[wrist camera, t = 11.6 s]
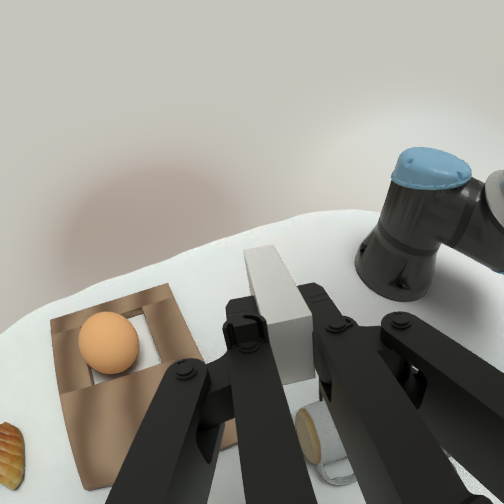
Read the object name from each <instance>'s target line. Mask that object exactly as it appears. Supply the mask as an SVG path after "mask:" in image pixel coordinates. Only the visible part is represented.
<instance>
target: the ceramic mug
mask: <svg viewBox="0 0 504 504" xmlns="http://www.w3.org/2000/svg"><path fill="white" fill-rule="evenodd" d="M295 423H296V431H297V435H298V439H299V443H300V446H301V449H302V451H303V453H304V455H305V457H306V458H307V460H308V461H309V462H311V463H313V464H317V466H318V471H319V472H320V474H321V476H322V477H323V478H324V479H325V480H326V481H327V482H328V483H330V484H333V485H337V486H343V485H348V484H351V483H353V482H355V481H357V479H356V476H355V474H353V475H350V476H347V477H343V478H335V479H330V478H329V477H328V476H327V475H326V472H325V470H324V466H323V465H324V463H329V462H333V461H336V460H339V459H342V458H345V457H347V454H346V452H345V449H344V447H343V444H342V442H341V439H340V437H339V434H338V432H337V429H336V427H335V424H334V422H333V420H332V417H331V415H330V412H329V410H328V407H327V405H326V402H325V400H323V401H321V402H320V401H318V402H314V403H311V404H309V405H307V406H305V407H303V408H301V409H300V410H299V411H298V412H297V414H296V418H295Z"/></svg>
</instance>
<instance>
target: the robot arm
mask: <svg viewBox="0 0 504 504" xmlns="http://www.w3.org/2000/svg"><path fill="white" fill-rule="evenodd" d="M471 176H472V173H471V168H470V166H469V165H468V164H467V163H466V162H465V161H463V160H461V159H458V158H457V157H456V156H454V155H452V154H450V153H447V152H444V151H441V150H436V149H432V148H426V147H415V148H414V147H413V148H409V149H406V150H405V151H403V152H402V153H401V154H400V156H399V158H398V161H397V164H396V167H395V170H394V171H393V173H392V175H391V178H392V180H391V184H390V187H389V190H388V194H387V197H386V200H385V203H384V206H383V209H382V212H381V215H380V218H379V221H378V223H377V225H376V226H375V228H374V229H373V230H372V231H371V232H370V234H369V235H368V236H367V237H366V238H365V240H364V241H363V242H362V243H361V245H360V247H359V249H358V252H357V255H356V258H355V266H356V269H357V272H358V274H359V276H360V277H361V279H362V280H363V281H364V282H365V283H366V284H367V285H368V286H369V287H370V288H371V289H372V290H374V291H375V292H377V293H378V294H380V295H382V296H384V297H387V298H389V299H393V300H397V301H412V300H416V299H418V298H420V297H422V296H423V295H424V294H425V293H426V291H427V289H428V288H429V286H430V284H431V282H432V279H433V274H434V268H435V261H436V253H437V251H438V249H439V247H440V245H441V243H442V244H445V245H447V246H449V247H451V248H453V249H455V250H457V251H459V252H461V253H463V254H464V255H466V256H468V257H470V258H472V259H474V260H475V261H477V262H479V263H481V264H483V265H484V266H486V267H488V268H490V269H491V270H492V271H494V272H496V273H499V274H503V275H504V170H499V171H495V172H493V173H492V174H491V175H490V176H489V177H488V179H487V181H486V182H485V183H483V182H481V181H479V180H477V179H475V178H473V177H471ZM243 252H244V258H245V263H246V269H247V275H248V281H249V287H250V292H251V296H248V297H243V298H237V299H232V300H230V301H229V302H228V304H227V306H226V318H227V321H226V322H225V323H224V324H223V328H222V330H223V334H224V338H225V342H226V346H227V352H226V353H225V354H224V355H223V356H222V357H220V358H219V359H217V360H215V361H213V362H211V363H208V364H205V363H204V362H203V361H201V360H200V359H196V358H186V359H182V360H179V361H176V362H175V363H173V364H172V365H170V366H169V367H168V369H167V370H166V371H165V374H164V376H163V378H162V380H161V382H160V384H159V386H158V388H157V390H156V392H155V395H154V397H153V399H152V401H151V403H150V405H149V407H148V409H147V412H146V414H145V416H144V418H143V420H142V422H141V424H140V427H139V429H138V431H137V433H136V435H135V438H134V440H133V442H132V444H131V446H130V448H129V451H128V453H127V455H126V457H125V459H124V462H123V464H122V466H121V468H120V471H119V473H118V475H117V477H116V480H115V482H114V484H113V486H112V489H111V491H110V493H109V495H108V498H107V500H106V502H105V504H207V501H208V497H209V493H210V489H211V484H212V480H213V476H214V472H215V467H216V463H217V459H218V455H219V450H220V446H221V442H222V438H223V433H224V429H225V422H226V421H229V420H231V419H233V418H235V423H236V432H237V440H238V448H239V456H240V464H241V471H242V479H243V486H244V493H245V500H246V504H317V500H316V497H315V494H314V490H313V487H312V484H311V480H310V477H309V474H308V470H307V467H306V464H305V460H304V457H303V454H302V450H301V447H300V444H299V440H298V437H297V434H296V430H295V427H294V423H293V420H292V417H291V413H290V410H289V406H288V403H287V400H286V396H285V393H284V389H283V386H282V385H286V384H290V383H295V382H299V381H304V380H308V379H312V378H315V369H316V371H317V373H318V376H319V400H320V402H321V401H323V398H324V400H325V402H326V405H327V407H328V410H329V412H330V415H331V417H332V420H333V422H334V424H335V427H336V429H337V432H338V434H339V437H340V439H341V442H342V444H343V447H344V449H345V452H346V454H347V457H348V459H349V461H350V464H351V466H352V469H353V471H354V474H355V476H356V479H357V481H358V484H359V486H360V489H361V491H362V494H363V496H364V499H365V501H366V504H493V503H492V502H491V500H490V499H489V498H487V497H485V496H484V495H475V494H472V493H470V492H469V491H468V490H467V488H466V487H465V485H464V483H463V482H462V480H461V478H460V477H459V475H458V473H457V472H456V470H455V469H454V467H453V465H452V464H451V462H450V461H449V459H448V457H447V456H446V454H445V453H444V451H443V449H444V450H445V451H446V452H447V453H448V454H450V455H451V456H452V457H453V458H454V459H455V460H456V461H457V462H458V463H459V464H460V465H462V466H463V467H464V468H465V469H466V470H467V471H468V472H469V473H470V474H471V475H473V476H474V477H475V478H476V479H477V480H478V481H479V482H480V483H481V484H482V485H484V486H485V487H486V488H487V489H488V490H489V491H490V492H491V493H492V494H493V495H495V496H496V497H497V498H498V499H499V500H500V501H501V502H502V503H503V504H504V373H502V372H501V371H499V370H498V369H496V368H495V367H493V366H492V365H490V364H489V363H487V362H486V361H484V360H483V359H481V358H480V357H478V356H477V355H475V354H474V353H472V352H471V351H469V350H468V349H466V348H465V347H463V346H462V345H460V344H459V343H457V342H455V341H454V340H452V339H451V338H449V337H448V336H446V335H445V334H443V333H441V332H440V331H438V330H437V329H435V328H434V327H432V326H430V325H429V324H427V323H426V322H424V321H423V320H421V319H419V318H418V317H416V316H415V315H412V314H410V313H407V312H393V313H390V314H387V315H386V316H384V317H383V319H382V321H381V326H369V327H365V326H359V325H358V324H357V323H356V322H355V321H354V320H353V319H352V318H350V317H347V316H342V314H341V313H340V311H339V310H338V309H337V307H336V306H335V304H334V303H333V301H332V300H331V299H330V297H329V296H328V295H327V293H326V291H325V290H324V288H323V287H322V286H320V285H318V284H316V283H309V284H304V285H299V286H296V284H295V283H294V281H293V279H292V277H291V275H290V273H289V272H288V270H287V268H286V266H285V264H284V263H283V261H282V259H281V257H280V255H279V254H278V252H277V250H276V248H275V247H274V245H268V246H263V247H257V248H252V249H247V250H243ZM412 365H413V366H415V367H416V368H417V369H418V370H419V371H417V370H415V369H414V368H412ZM441 447H442V448H443V449H442V448H441Z"/></svg>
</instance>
